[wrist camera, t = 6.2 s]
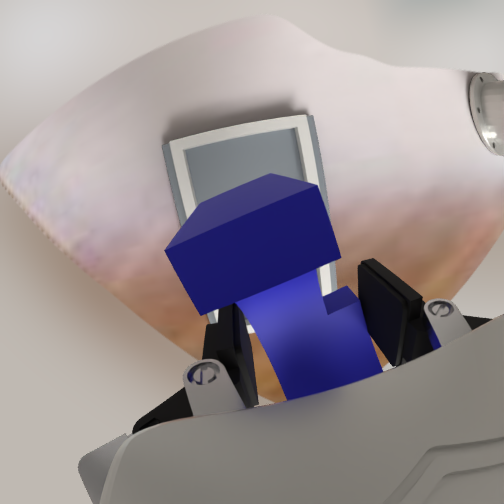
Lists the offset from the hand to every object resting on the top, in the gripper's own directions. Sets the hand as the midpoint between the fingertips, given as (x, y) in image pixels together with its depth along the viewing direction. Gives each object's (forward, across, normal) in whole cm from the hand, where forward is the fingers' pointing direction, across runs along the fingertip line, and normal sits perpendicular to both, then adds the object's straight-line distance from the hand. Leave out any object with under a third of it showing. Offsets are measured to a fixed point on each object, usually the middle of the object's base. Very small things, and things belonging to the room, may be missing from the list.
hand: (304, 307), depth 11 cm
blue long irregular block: (+1, 0, 0) cm, 1 cm away
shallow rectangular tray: (+16, 0, 0) cm, 16 cm away
